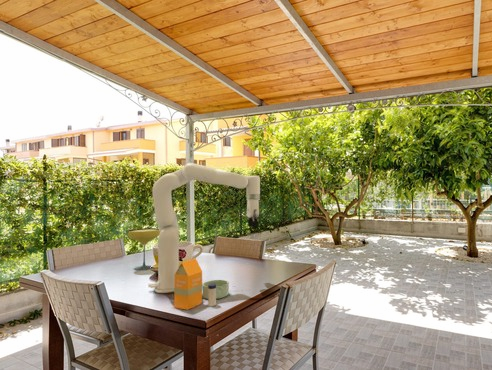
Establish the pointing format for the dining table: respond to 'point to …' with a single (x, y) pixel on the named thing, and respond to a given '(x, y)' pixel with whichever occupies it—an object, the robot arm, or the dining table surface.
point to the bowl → (217, 288)
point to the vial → (212, 294)
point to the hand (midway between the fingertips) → (253, 227)
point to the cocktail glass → (143, 240)
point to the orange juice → (188, 285)
